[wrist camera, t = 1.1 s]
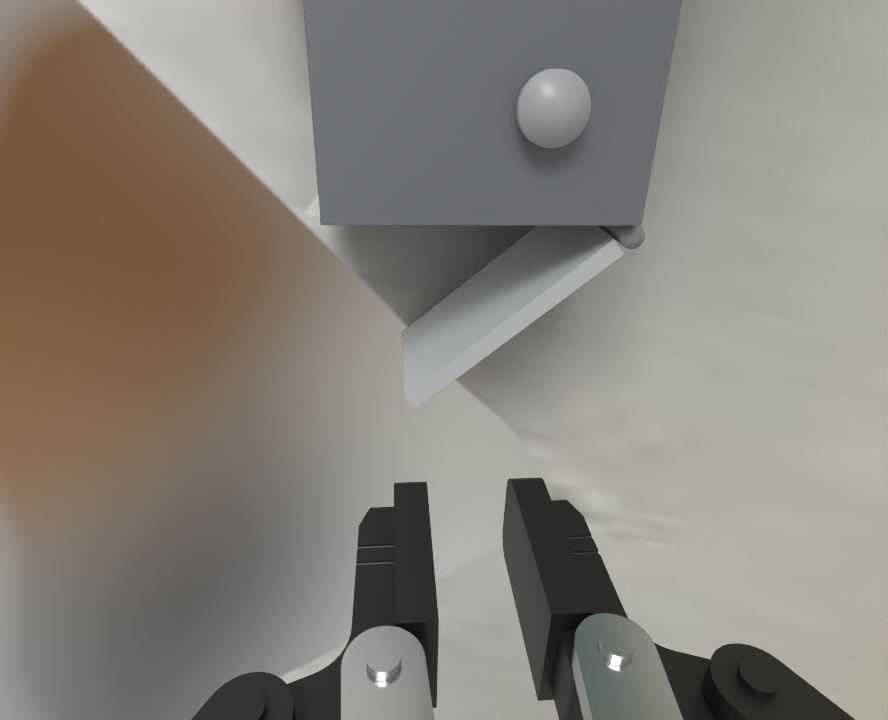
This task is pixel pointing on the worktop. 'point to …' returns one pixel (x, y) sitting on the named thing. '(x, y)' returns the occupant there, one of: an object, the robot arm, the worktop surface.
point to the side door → (505, 300)
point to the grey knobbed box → (486, 109)
